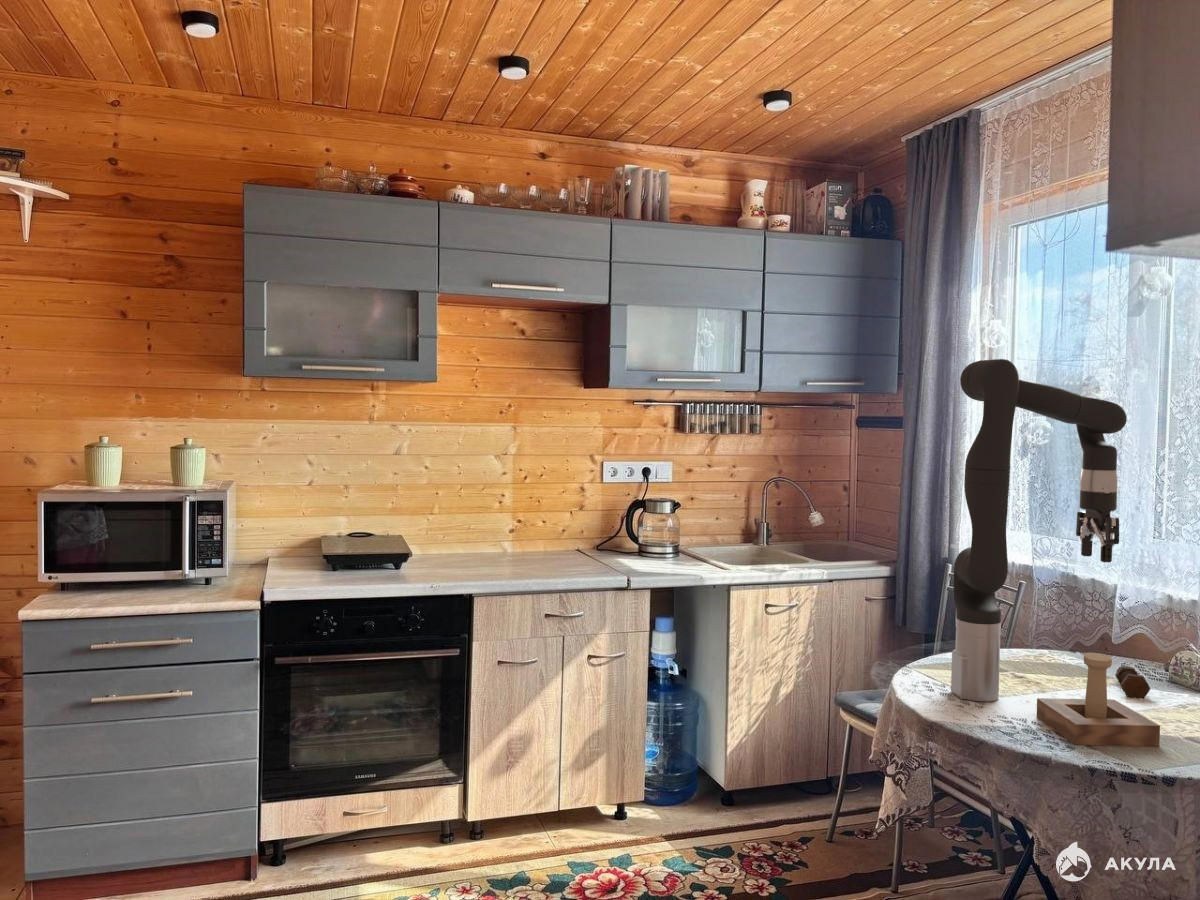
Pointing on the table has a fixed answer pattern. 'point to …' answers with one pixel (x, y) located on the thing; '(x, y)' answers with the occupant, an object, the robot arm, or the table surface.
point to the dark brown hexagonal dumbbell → (1132, 682)
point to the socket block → (1098, 723)
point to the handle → (1096, 684)
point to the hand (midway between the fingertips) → (1096, 559)
